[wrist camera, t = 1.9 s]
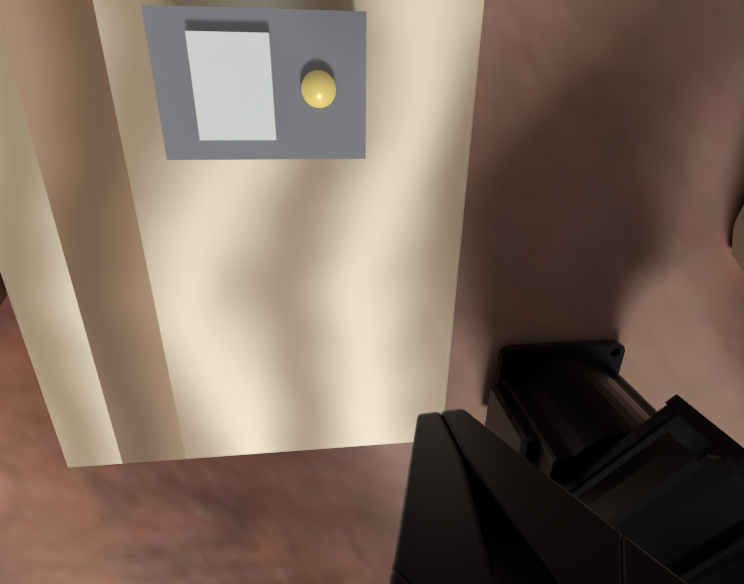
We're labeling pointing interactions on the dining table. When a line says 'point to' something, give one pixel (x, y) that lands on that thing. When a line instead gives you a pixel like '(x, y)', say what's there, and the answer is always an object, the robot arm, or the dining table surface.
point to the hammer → (739, 239)
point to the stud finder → (258, 82)
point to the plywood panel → (230, 243)
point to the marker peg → (2, 290)
